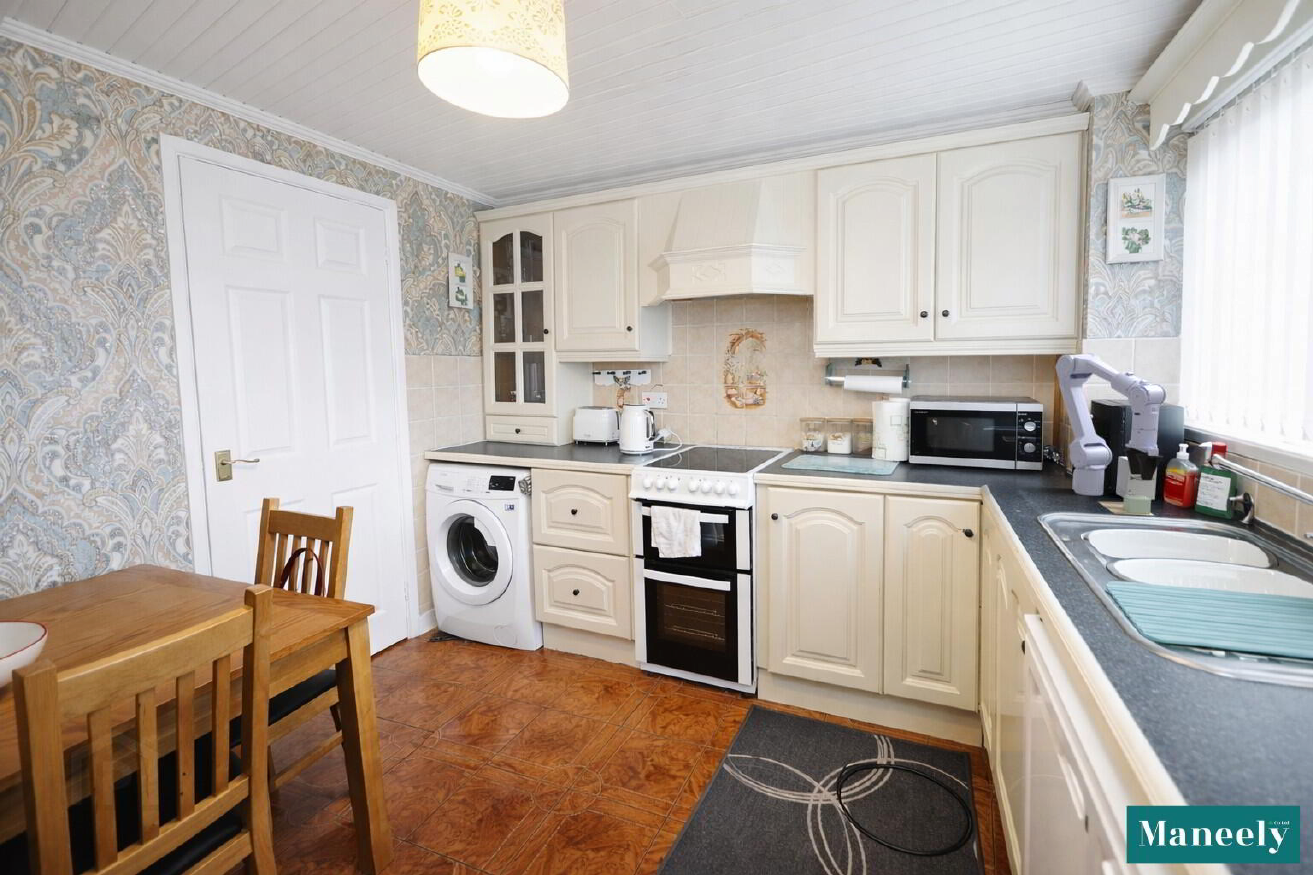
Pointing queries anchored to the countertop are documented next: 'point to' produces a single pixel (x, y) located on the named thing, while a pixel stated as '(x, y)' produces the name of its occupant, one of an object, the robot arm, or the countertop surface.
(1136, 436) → the robot arm
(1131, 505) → the pale green block
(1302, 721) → the countertop surface
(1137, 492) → the supplement box
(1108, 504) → the board
